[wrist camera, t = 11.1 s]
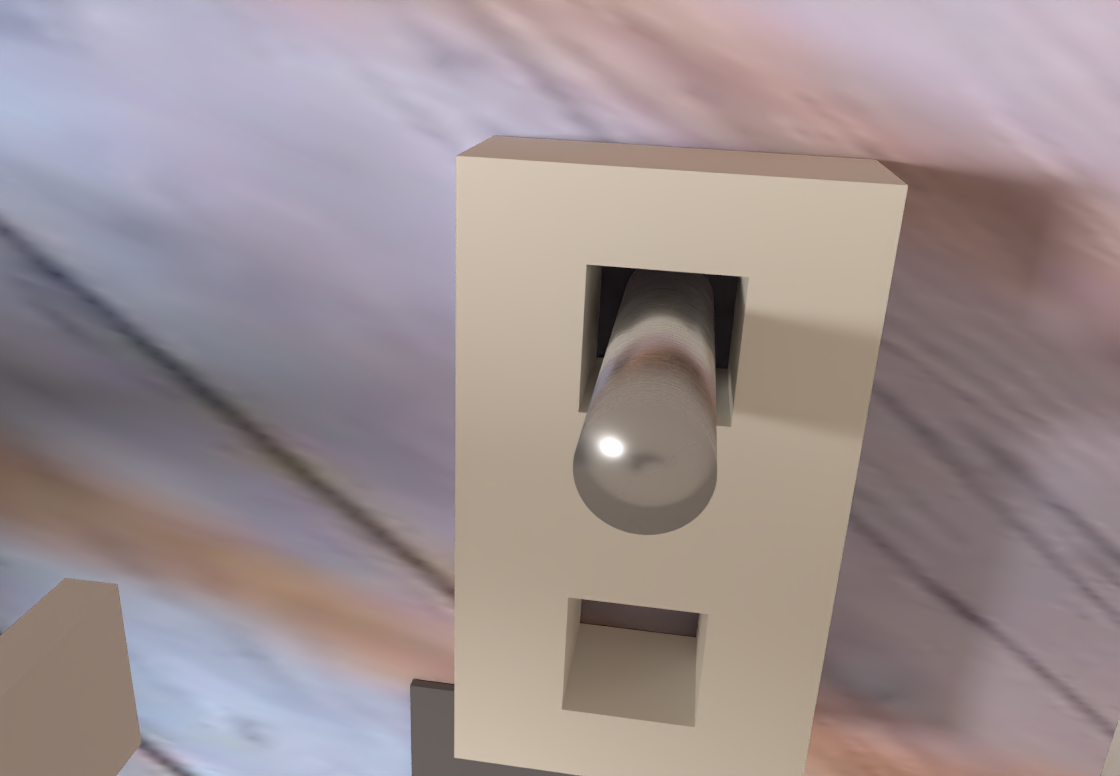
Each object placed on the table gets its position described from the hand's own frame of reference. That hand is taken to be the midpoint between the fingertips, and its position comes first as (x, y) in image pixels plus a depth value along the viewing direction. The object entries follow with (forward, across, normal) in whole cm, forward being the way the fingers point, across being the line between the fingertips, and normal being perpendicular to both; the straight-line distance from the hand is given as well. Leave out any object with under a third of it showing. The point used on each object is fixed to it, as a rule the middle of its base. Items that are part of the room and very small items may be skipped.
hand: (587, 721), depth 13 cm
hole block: (+21, 0, -6) cm, 21 cm away
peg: (+21, +1, 0) cm, 21 cm away
